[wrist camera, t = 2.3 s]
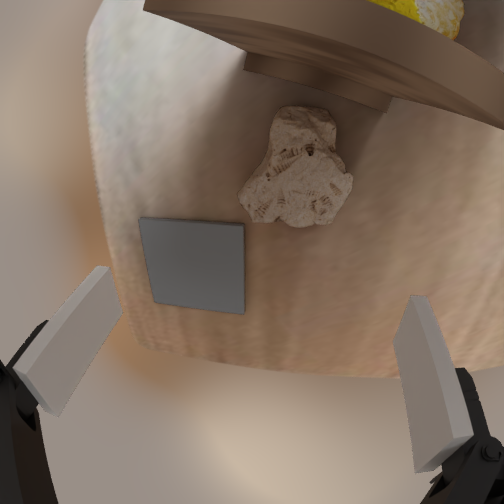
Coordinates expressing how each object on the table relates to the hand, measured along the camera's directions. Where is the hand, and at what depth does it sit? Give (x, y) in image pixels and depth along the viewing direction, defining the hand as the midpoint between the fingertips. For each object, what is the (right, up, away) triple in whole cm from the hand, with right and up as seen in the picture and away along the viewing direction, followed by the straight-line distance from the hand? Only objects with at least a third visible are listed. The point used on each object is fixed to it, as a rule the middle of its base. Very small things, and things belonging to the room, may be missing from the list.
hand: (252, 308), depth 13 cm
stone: (+4, +11, +16) cm, 20 cm away
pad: (-7, +1, +24) cm, 25 cm away
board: (+6, +19, +10) cm, 22 cm away
